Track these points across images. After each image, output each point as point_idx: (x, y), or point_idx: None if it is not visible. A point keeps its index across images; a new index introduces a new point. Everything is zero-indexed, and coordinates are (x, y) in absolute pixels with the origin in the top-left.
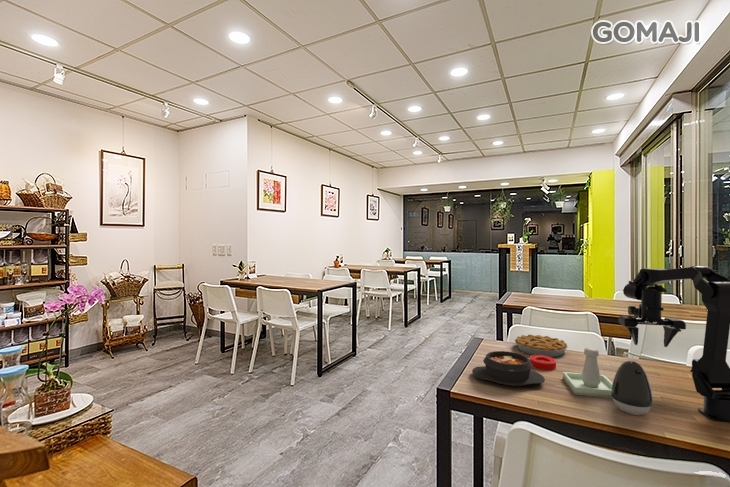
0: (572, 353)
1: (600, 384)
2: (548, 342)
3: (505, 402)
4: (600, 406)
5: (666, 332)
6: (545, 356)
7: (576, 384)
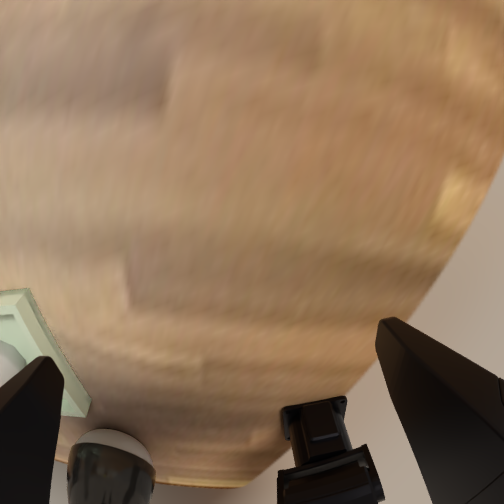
0: None
1: (25, 342)
2: None
3: None
4: (61, 431)
5: (490, 490)
6: None
7: None
